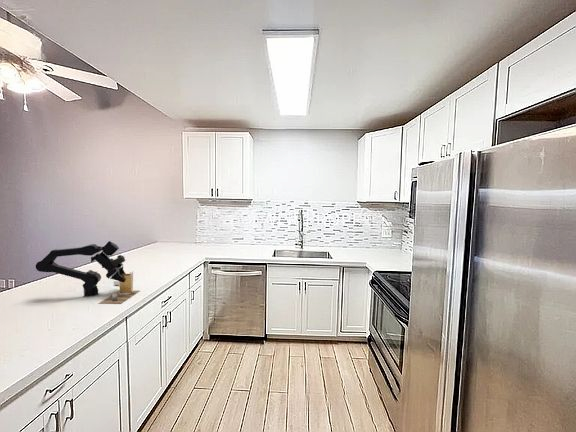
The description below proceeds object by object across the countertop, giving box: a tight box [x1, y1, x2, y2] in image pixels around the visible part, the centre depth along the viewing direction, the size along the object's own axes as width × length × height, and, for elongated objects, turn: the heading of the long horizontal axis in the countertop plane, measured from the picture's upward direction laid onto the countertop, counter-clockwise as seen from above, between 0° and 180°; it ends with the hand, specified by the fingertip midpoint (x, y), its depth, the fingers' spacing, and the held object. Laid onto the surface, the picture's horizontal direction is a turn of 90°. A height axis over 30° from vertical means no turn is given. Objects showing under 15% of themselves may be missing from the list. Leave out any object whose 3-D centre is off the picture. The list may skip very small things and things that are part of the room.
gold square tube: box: [119, 273, 134, 293], centre depth 203 cm, size 6×6×10 cm
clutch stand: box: [97, 290, 141, 305], centre depth 196 cm, size 26×12×6 cm, turn 1°
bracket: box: [113, 270, 134, 287], centre depth 230 cm, size 13×7×8 cm, turn 1°
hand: (126, 279), depth 203 cm, fingers open, 9 cm apart
